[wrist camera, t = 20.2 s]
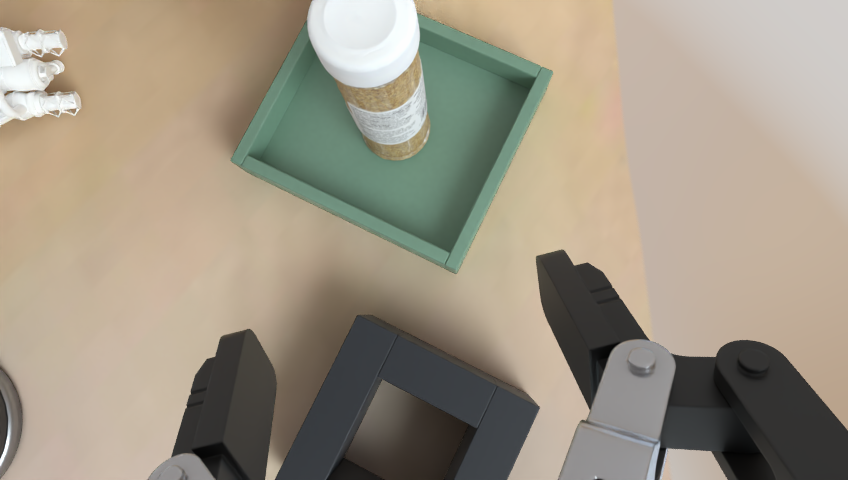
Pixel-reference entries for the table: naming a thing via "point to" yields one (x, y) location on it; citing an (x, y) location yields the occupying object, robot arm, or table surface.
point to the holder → (422, 377)
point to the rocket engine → (31, 75)
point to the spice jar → (375, 69)
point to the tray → (410, 178)
